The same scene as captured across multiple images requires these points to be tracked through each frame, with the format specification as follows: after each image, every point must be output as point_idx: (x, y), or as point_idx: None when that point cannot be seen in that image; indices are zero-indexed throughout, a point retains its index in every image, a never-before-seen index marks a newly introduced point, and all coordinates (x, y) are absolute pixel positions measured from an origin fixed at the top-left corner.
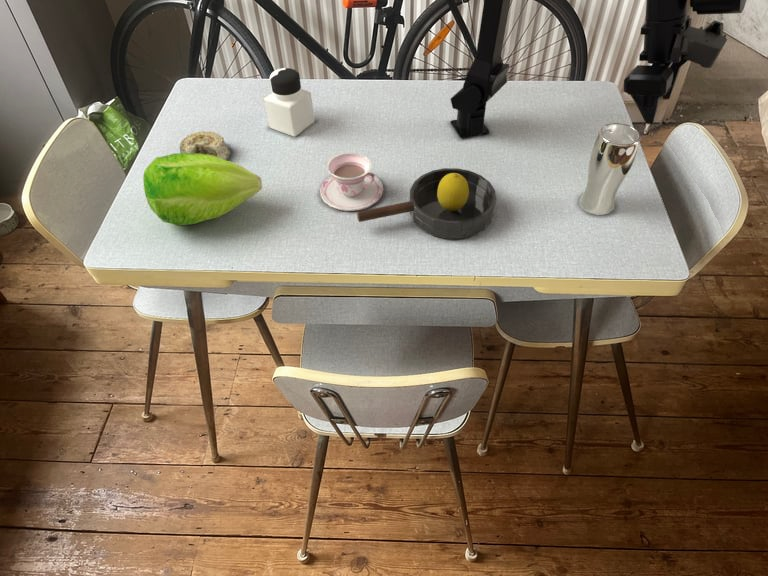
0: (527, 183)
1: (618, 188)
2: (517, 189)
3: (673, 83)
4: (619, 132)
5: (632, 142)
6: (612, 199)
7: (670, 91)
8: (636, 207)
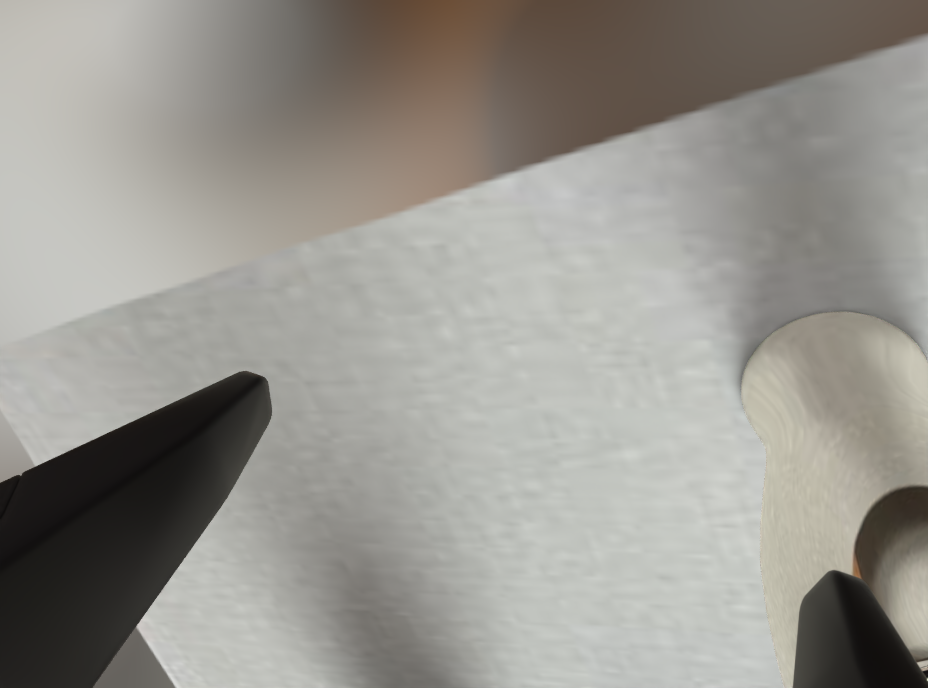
0: (728, 633)
1: (923, 388)
2: None
3: (132, 484)
4: None
5: (882, 560)
6: (914, 368)
7: (211, 428)
8: (815, 197)
